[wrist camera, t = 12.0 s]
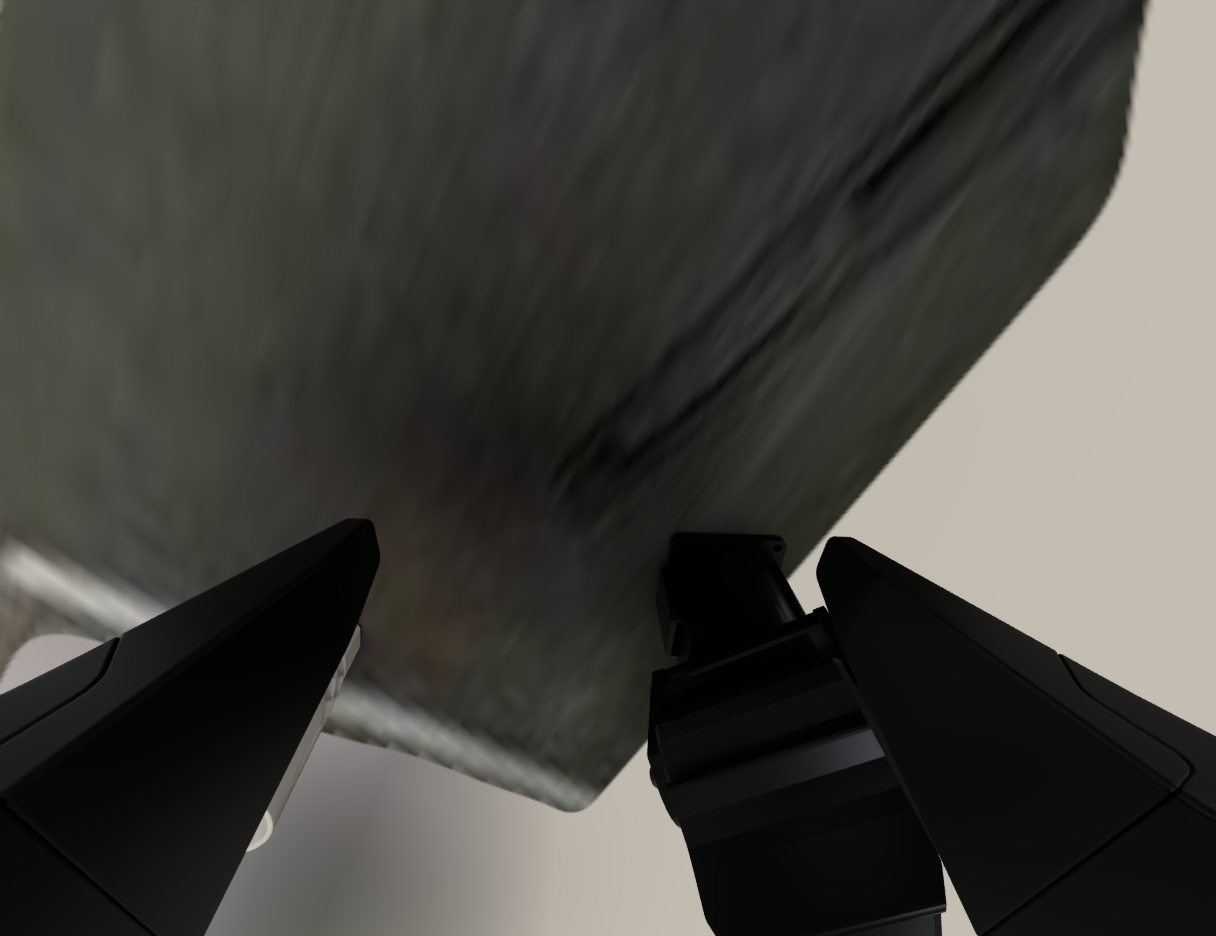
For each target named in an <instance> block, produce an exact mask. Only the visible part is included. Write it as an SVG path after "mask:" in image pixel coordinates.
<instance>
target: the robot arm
mask: <svg viewBox="0 0 1216 936" xmlns="http://www.w3.org/2000/svg"><path fill="white" fill-rule="evenodd" d="M681 541H683V542H684V543H682V544H677V543H678V542H681ZM776 545H779V546H777V547H774V546H776ZM786 548H787V545H786V543H785V542H784V540H783V539H782V538H781V537H774V536H744V535H715V534H685V533H680V534H676V535H674V536H673V537H672V539H671V544H670V550H669V556H668V562H667V566H664V567H663V568H662V569H661V571H660V577H659V583H658V590H657V596H656V604H657V609H658V615H659V621H660V626H661V632H662V638H663V643H664V649H665V654H666V655H667V656H668V657H669V658H677V663H678V665H675V666H673V667H670V668H668V669H665V670H664V669H663V668H662V669H659V670H657V671H654V672H652V686H651V694H650V712H649V730H648V748H647V756H648V760H649V763H650V766H651V768H650V778H651V781H652V784H653V785H654V786H655V787H656V788H657V789H658V790H659V793H660V796H661V798H662V800H663V803H664V805H665V807H666V810H667V811H668V813H669V815H670V817H671V819H672V820H673V821H674V823H675V824H676V825H677V826H678V827H680V828H681V829H682V832H683V835H684V838H685V842H686V845H687V848H688V852H689V855H690V859H691V863H692V867H693V870H694V875H695V879H696V883H697V887H698V891H699V895H700V899H701V903H702V908H703V912H704V915H705V919H706V921H707V923H708V924H709V926H710V928H711V929H712V931H713V933H714V934H715V936H942V927H941V913H943V912H946V895H945V886H944V878H943V869H942V863H941V860H942V862H943V865H944V867H945V869H946V871H947V873H948V875H949V877H950V879H951V882H952V884H953V886H954V888H955V890H956V892H957V894H958V896H959V898H960V900H961V903H962V905H963V907H964V909H965V911H966V913H967V915H968V917H969V920H970V922H971V924H972V926H973V928H974V930H975V932H976V934H977V935H978V936H1216V736H1214V735H1212V734H1210V733H1208V732H1207V731H1204V730H1203V729H1201V728H1199V727H1196V726H1195V725H1193V724H1191V723H1189V722H1187V721H1185V720H1183V719H1181V718H1179V717H1177V716H1175V715H1173V714H1172V713H1170V712H1168V711H1166V710H1164V709H1162V708H1160V707H1158V706H1156V705H1154V704H1152V703H1151V702H1149V701H1147V700H1145V699H1143V698H1141V697H1139V696H1137V695H1135V694H1133V693H1131V692H1129V691H1128V690H1126V689H1124V688H1122V687H1120V686H1119V685H1117V684H1115V683H1113V682H1111V681H1109V680H1108V679H1106V678H1104V677H1102V676H1100V675H1098V674H1097V673H1094V672H1093V671H1091V670H1089V669H1087V668H1086V667H1084V666H1082V665H1080V664H1078V663H1077V662H1075V661H1073V660H1071V659H1070V658H1068V657H1066V656H1064V655H1062V654H1057V652H1056V651H1055V650H1053V649H1051V648H1050V647H1048V646H1046V645H1044V644H1042V643H1041V642H1039V641H1037V640H1035V639H1034V638H1032V637H1030V636H1028V635H1026V634H1024V633H1023V632H1021V631H1019V630H1017V629H1015V628H1014V627H1012V626H1010V625H1008V624H1007V623H1005V622H1003V621H1001V620H999V619H998V618H996V617H994V616H992V615H991V614H989V613H987V612H985V611H983V610H981V609H980V608H978V607H976V606H974V605H973V604H971V603H969V602H967V601H965V600H964V599H962V598H960V597H958V596H956V595H955V594H953V593H950V592H949V591H947V590H946V589H944V588H942V587H940V586H939V585H937V584H935V583H933V582H931V581H930V580H928V579H926V578H924V577H922V576H921V575H919V574H917V573H915V572H913V571H912V570H909V569H908V568H906V567H904V566H903V565H901V564H899V563H897V562H896V561H894V560H892V559H890V558H888V557H887V556H885V555H883V554H881V553H879V552H878V551H876V550H874V549H872V548H870V547H869V546H867V545H865V544H863V543H861V542H860V541H858V540H856V539H854V538H851V537H836V536H834V537H831V538H829V540H828V541H827V543H826V545H825V548H824V550H823V553H822V555H821V558H820V560H819V563H818V565H817V570H816V576H817V580H818V583H819V586H820V589H821V592H822V595H823V597H824V600H825V603H826V606H827V609H828V611H827V610H826V608H825V607H824V606H822V607H819V608H816V609H814V610H813V612H812V613H810V614H807V615H806V614H805V612H804V610H803V608H802V606H801V605H800V603H799V601H798V599H797V597H796V596H795V594H794V592H793V590H792V589H791V587H790V585H789V583H788V581H787V580H786V578H785V576H784V574H783V573H782V571H781V569H780V567H781V564H782V561H783V557H784V554H785V551H786ZM379 563H380V551H379V546H378V541H377V537H376V532H375V528H374V525H373V523H372V521H371V520H369V519H358V518H348V519H345V520H343V521H341V522H339V523H337V524H335V525H333V526H331V527H329V528H327V529H325V530H323V531H321V532H320V533H318V534H316V535H314V536H312V537H310V538H308V539H306V540H304V541H302V542H300V543H298V544H296V545H294V546H292V547H290V548H288V549H286V550H285V551H283V552H281V553H279V554H277V555H275V556H273V557H271V558H269V559H267V560H265V561H263V562H261V563H259V564H257V565H255V566H253V567H251V568H250V569H248V570H246V571H244V572H242V573H240V574H238V575H236V576H234V577H232V578H230V579H228V580H226V581H224V582H222V583H220V584H218V585H217V586H215V587H213V588H211V589H209V590H207V591H205V592H203V593H201V594H199V595H197V596H195V597H193V598H191V599H189V600H187V601H185V602H183V603H182V604H180V605H178V606H176V607H174V608H172V609H170V610H168V611H166V612H164V613H162V614H160V615H158V616H156V617H154V618H152V619H150V620H148V621H147V622H145V623H143V624H141V625H139V626H137V627H135V628H133V629H131V630H129V631H127V632H125V633H123V634H122V636H121V638H118V637H116V638H113V639H111V640H109V641H107V642H105V643H104V644H102V645H100V646H98V647H96V648H94V649H92V650H90V651H88V652H87V653H84V654H82V655H81V656H79V657H76V658H74V659H72V660H71V661H68V662H66V663H64V664H62V665H61V666H58V667H57V668H54V669H53V670H50V671H48V672H46V673H44V674H42V675H40V676H38V677H36V678H34V679H33V680H30V681H29V682H26V683H24V684H22V685H20V686H18V687H16V688H14V689H12V690H10V691H7V692H5V693H3V694H1V695H0V936H204V935H205V933H206V931H207V929H208V927H209V925H210V923H211V921H212V919H213V917H214V915H215V913H216V911H217V909H218V907H219V905H220V903H221V901H222V899H223V897H224V895H225V893H226V891H227V889H228V887H229V885H230V883H231V881H232V879H233V877H234V875H235V873H236V871H237V869H238V867H239V865H240V863H241V861H242V859H243V857H244V854H245V853H246V851H247V849H248V847H249V845H250V843H251V841H252V839H253V837H254V835H255V833H256V831H257V829H258V827H259V825H260V823H261V821H262V819H263V817H264V815H265V813H266V811H267V809H268V806H269V804H270V802H271V800H272V798H273V796H274V794H275V792H276V790H277V788H278V786H279V784H280V782H281V780H282V778H283V776H284V774H285V772H286V770H287V768H288V766H289V764H290V762H291V760H292V758H293V756H294V754H295V752H296V750H297V748H298V746H299V744H300V742H301V740H302V738H303V736H304V734H305V732H306V730H307V728H308V726H309V724H310V722H311V720H312V718H313V716H314V714H315V712H316V710H317V708H318V706H319V704H320V702H321V700H322V698H323V696H324V694H325V692H326V690H327V688H328V686H329V684H330V682H331V680H332V678H333V676H334V674H335V672H336V670H337V668H338V666H339V664H340V662H341V660H342V658H343V656H344V654H345V652H346V650H347V648H348V646H349V643H350V641H351V639H352V637H353V634H354V632H355V629H356V627H357V624H358V621H359V619H360V616H361V613H362V610H363V608H364V605H365V602H366V599H367V597H368V594H369V591H370V588H371V586H372V583H373V580H374V577H375V575H376V572H377V569H378V566H379ZM938 854H939V855H938ZM939 856H940V857H939ZM940 858H941V859H940Z"/></svg>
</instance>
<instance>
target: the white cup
mask: <svg viewBox="0 0 1216 936" xmlns="http://www.w3.org/2000/svg"><path fill="white" fill-rule="evenodd" d="M360 645H361V640H360V627H359V625H358V624H357V627H356V629H355V632H354V634H353V637H352V639H351V641H350V643H349V646H348V648H347V650H346V652H345V654H344V656H343V658H342V660H341V662H340V664H339V666H338V668H337V670H336V672H335V674H334V676H333V678H332V680H331V682H330V684H329V686H328V688H327V690H326V692H325V694H324V696H323V698H322V700H321V702H320V704H319V706H318V708H317V710H316V712H315V714H314V716H313V718H312V720H311V722H310V724H309V726H308V728H307V730H306V732H305V734H304V736H303V738H302V740H301V742H300V744H299V746H298V748H297V750H296V752H295V754H294V756H293V758H292V760H291V762H290V764H289V766H288V768H287V770H286V772H285V774H284V776H283V778H282V780H281V782H280V784H279V786H278V788H277V790H276V792H275V794H274V796H273V798H272V800H271V802H270V804H269V806H268V809H267V811H266V813H265V815H264V817H263V819H262V821H261V823H260V825H259V827H258V829H257V831H256V833H255V835H254V837H253V839H252V841H251V843H250V845H249V847H248V849H247V851H246V852H249V851H251V850H253V849H255V848H257V847H259V846H261V845H262V844H263V843H265V841H267V839H268V838H269V837H270V836H271V834H272V832H273V830H274V827H275V825H276V823H277V821H278V819H279V817H280V815H281V813H282V811H283V809H284V807H285V804H286V803H287V800H288V798H289V796H290V794H291V792H292V790H293V788H294V786H295V784H296V782H297V780H298V778H299V776H300V774H301V772H302V770H303V768H304V765H305V764H306V762H307V760H308V757H309V755H310V753H311V751H312V749H313V747H314V745H315V743H316V741H317V739H318V737H319V735H320V733H321V731H322V729H323V727H324V725H325V722H326V720H327V717H328V714H329V712H330V711H331V709H332V707H333V705H334V703H335V701H336V699H337V696H338V694H339V691H340V688H341V685H342V682H343V679H344V677H345V676H346V674H347V672H348V670H349V668H350V666H351V664H352V662H353V660H354V658H355V656H356V654H357V652H358V650H359V648H360Z"/></svg>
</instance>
